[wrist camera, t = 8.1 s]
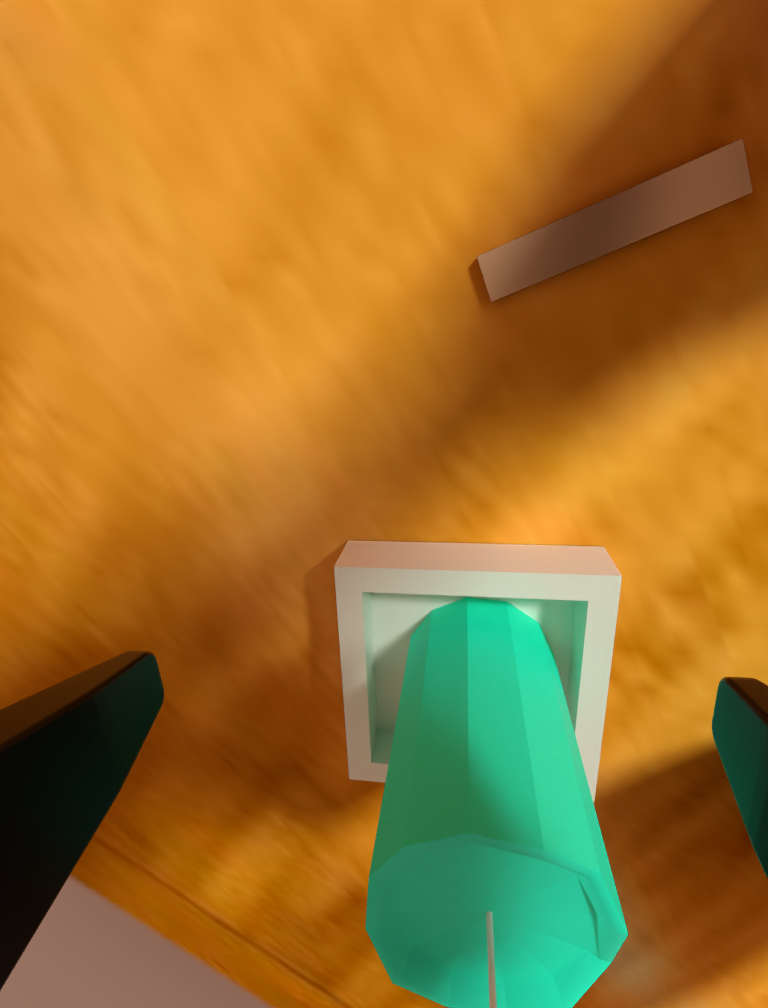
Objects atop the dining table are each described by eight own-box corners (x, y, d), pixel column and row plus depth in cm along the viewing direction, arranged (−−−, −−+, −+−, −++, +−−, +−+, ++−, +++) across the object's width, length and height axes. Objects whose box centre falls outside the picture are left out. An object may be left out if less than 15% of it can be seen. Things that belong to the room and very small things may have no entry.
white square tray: (603, 546, 20) (627, 585, 17) (579, 768, 24) (596, 833, 21) (348, 540, 22) (329, 575, 19) (360, 749, 25) (346, 807, 22)
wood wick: (735, 142, 16) (742, 138, 15) (746, 195, 16) (752, 192, 16) (476, 258, 18) (476, 256, 17) (491, 302, 18) (491, 302, 18)
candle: (468, 741, 23) (471, 1131, 12) (378, 647, 22) (291, 974, 11) (584, 674, 21) (717, 1063, 10) (490, 568, 20) (522, 867, 9)
